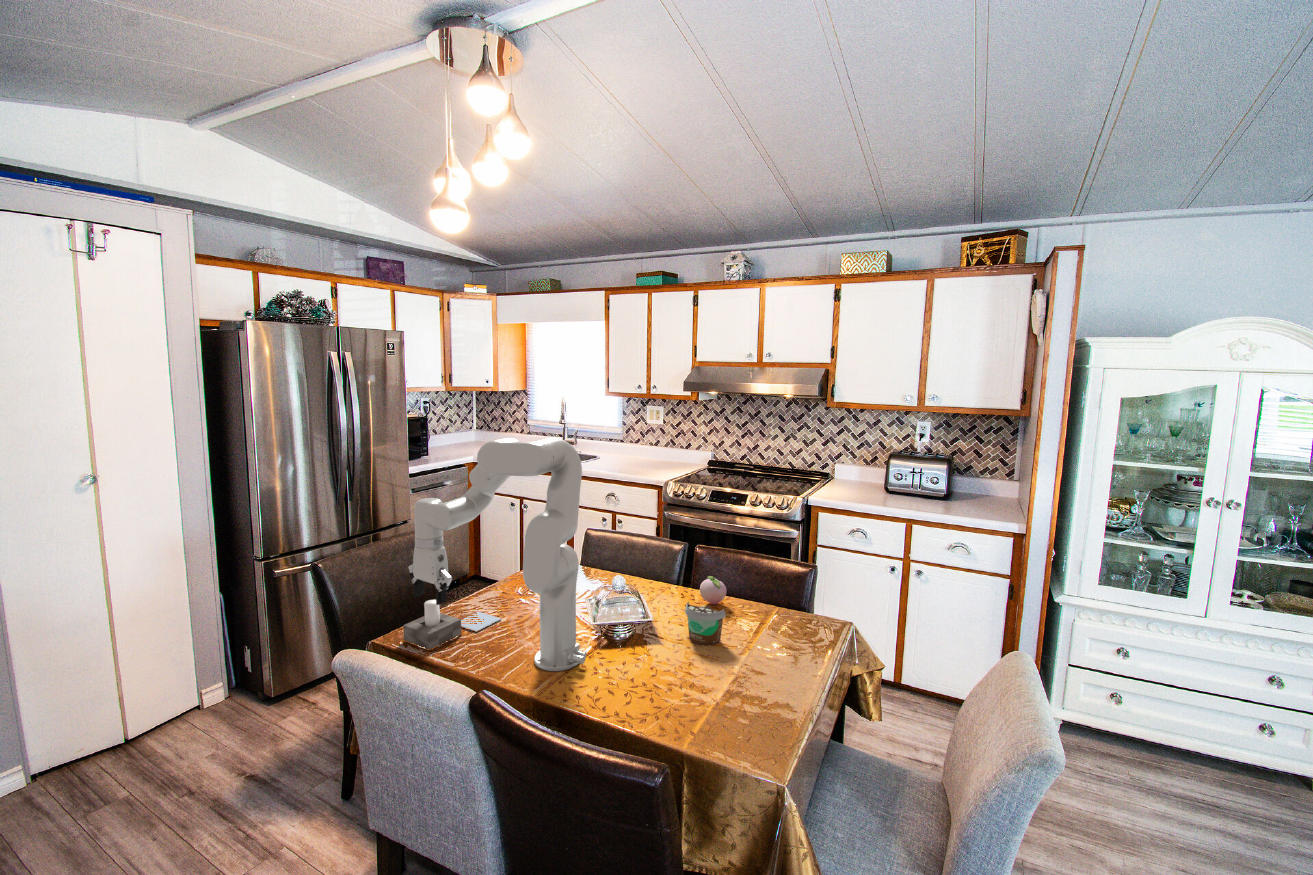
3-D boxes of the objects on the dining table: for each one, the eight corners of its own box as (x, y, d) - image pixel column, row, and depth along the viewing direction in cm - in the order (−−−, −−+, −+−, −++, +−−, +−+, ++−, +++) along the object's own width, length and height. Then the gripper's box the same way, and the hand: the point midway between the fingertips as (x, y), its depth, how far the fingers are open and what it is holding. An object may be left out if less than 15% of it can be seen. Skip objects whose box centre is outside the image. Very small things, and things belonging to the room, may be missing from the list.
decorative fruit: (694, 602, 189) (694, 573, 188) (714, 597, 193) (714, 570, 192) (709, 612, 181) (710, 582, 180) (730, 607, 185) (730, 578, 184)
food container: (677, 641, 161) (677, 608, 160) (686, 633, 166) (686, 600, 165) (717, 651, 155) (717, 617, 154) (724, 642, 160) (725, 609, 159)
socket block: (461, 635, 163) (460, 619, 162) (429, 651, 153) (429, 634, 153) (436, 627, 168) (435, 611, 168) (404, 641, 159) (403, 625, 158)
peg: (443, 637, 162) (442, 601, 160) (431, 643, 158) (430, 606, 157) (434, 634, 164) (432, 598, 162) (422, 639, 160) (421, 603, 159)
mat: (501, 620, 173) (501, 618, 173) (476, 632, 165) (476, 630, 165) (478, 613, 178) (478, 611, 178) (453, 625, 170) (453, 623, 170)
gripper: (461, 543, 157) (461, 601, 159) (420, 533, 165) (421, 588, 167) (439, 550, 150) (439, 611, 152) (398, 539, 159) (399, 596, 161)
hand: (430, 599), depth 160 cm, fingers open, 9 cm apart
